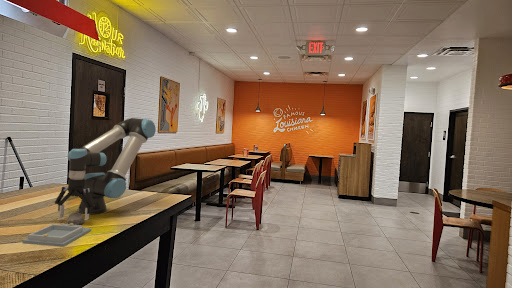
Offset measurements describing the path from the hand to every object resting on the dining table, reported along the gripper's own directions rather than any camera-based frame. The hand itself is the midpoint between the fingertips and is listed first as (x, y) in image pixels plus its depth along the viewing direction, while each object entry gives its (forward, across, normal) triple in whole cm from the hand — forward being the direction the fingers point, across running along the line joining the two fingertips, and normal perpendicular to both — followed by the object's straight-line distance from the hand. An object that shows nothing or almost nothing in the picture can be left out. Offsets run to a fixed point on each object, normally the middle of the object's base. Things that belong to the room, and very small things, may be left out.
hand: (74, 218), depth 168 cm
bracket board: (+3, +5, -20) cm, 20 cm away
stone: (+3, +1, +1) cm, 3 cm away
